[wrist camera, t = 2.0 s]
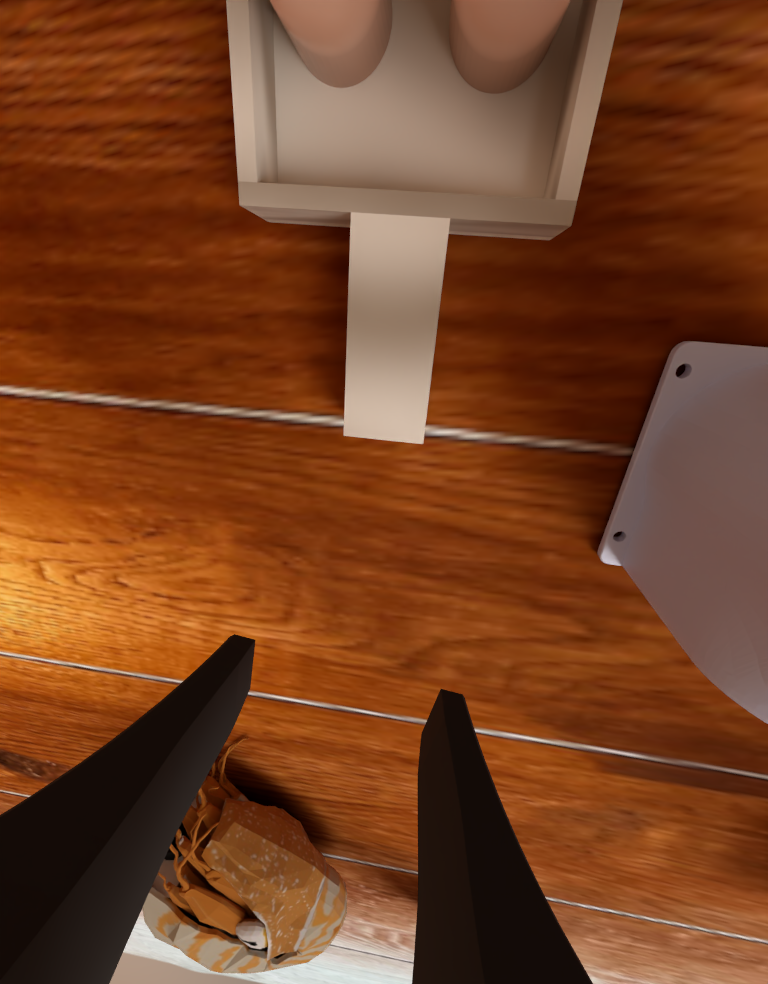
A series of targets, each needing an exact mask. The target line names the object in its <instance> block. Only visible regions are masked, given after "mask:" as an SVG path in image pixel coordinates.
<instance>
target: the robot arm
mask: <svg viewBox="0 0 768 984" xmlns="http://www.w3.org/2000/svg"><path fill="white" fill-rule="evenodd" d="M682 364H685V366H686V367H685V371H684V373H683V374H682V375H680V376H679V377H677V376H676V375H675V374H676V369H677V368H678V367H679V366H680V365H682ZM620 531H622V534H621V535H620V536H618V537H613V536H614V534H615V533H617V532H620ZM597 554H598V556H599V558H600V559H601V561H602V562H604V563H606V564H611V565H618V566H623V567H624V569H625V570H626V572H627V573H628V574H629V576H630V577H631V578H632V580H633V581H634V583H635V584H636V585H637V587H638V588H639V589H640V591H641V592H642V593H643V595H644V596H645V598H646V599H647V600H648V602H649V603H650V604H651V606H652V607H653V609H654V610H655V611H656V613H657V614H658V615H659V617H660V618H661V619H662V621H663V622H664V624H665V625H666V626H667V628H668V629H669V630H670V632H671V633H672V635H673V636H674V637H675V639H676V640H677V641H678V643H679V644H680V645H681V647H682V648H683V650H684V651H685V652H686V654H687V655H688V656H689V658H690V659H691V660H692V662H693V663H694V664H695V665H696V666H697V668H698V669H699V670H700V671H701V672H702V673H703V674H704V675H705V676H706V677H707V678H708V679H709V680H710V681H711V682H712V683H713V684H714V685H715V686H717V687H718V688H719V689H720V690H721V691H723V692H724V693H725V694H726V695H727V696H728V697H730V698H731V699H732V700H734V701H735V702H736V703H738V704H739V705H740V706H742V707H743V708H745V709H746V710H747V711H749V712H750V713H752V714H753V715H754V716H756V717H757V718H759V719H761V720H762V721H764V722H765V723H767V724H768V347H757V346H745V345H733V344H721V343H709V342H697V341H684V342H681V343H679V344H677V345H676V346H675V347H674V348H673V349H672V350H671V352H670V354H669V356H668V359H667V362H666V365H665V367H664V370H663V373H662V376H661V378H660V381H659V384H658V387H657V389H656V392H655V395H654V398H653V400H652V403H651V406H650V409H649V411H648V414H647V417H646V419H645V422H644V425H643V428H642V430H641V433H640V436H639V439H638V441H637V444H636V447H635V450H634V452H633V455H632V458H631V461H630V463H629V466H628V469H627V472H626V474H625V477H624V480H623V482H622V485H621V488H620V491H619V493H618V496H617V499H616V502H615V504H614V507H613V510H612V513H611V515H610V518H609V521H608V524H607V526H606V529H605V532H604V535H603V537H602V540H601V543H600V545H599V548H598V553H597ZM254 647H255V640H254V639H250V638H246V637H242V636H238V635H235V634H234V635H232V636H230V637H229V638H228V639H227V640H226V641H225V642H224V643H223V644H222V645H221V646H220V647H219V648H218V649H217V650H216V651H215V652H214V653H213V654H212V655H211V656H210V657H209V658H208V659H207V660H206V661H205V662H204V663H203V664H202V665H201V666H200V667H199V668H198V669H197V670H195V671H194V672H193V673H192V674H191V675H190V676H189V677H188V678H187V679H185V680H184V681H183V682H182V683H181V684H180V685H179V686H178V687H176V688H175V689H174V690H173V691H172V692H171V693H170V694H168V695H167V696H166V697H165V698H164V699H163V700H161V701H160V702H159V703H158V704H157V705H155V706H154V707H153V708H152V709H150V710H149V711H148V712H147V713H145V714H144V715H143V716H142V717H141V718H139V719H138V720H137V721H136V722H134V723H133V724H132V725H131V726H129V727H128V728H127V729H126V730H124V731H123V732H122V733H120V734H119V735H118V736H116V737H115V738H114V739H112V740H111V741H110V742H108V743H107V744H106V745H104V746H103V747H102V748H100V749H99V750H98V751H96V752H95V753H93V754H92V755H91V756H89V757H88V758H86V759H85V760H84V761H82V762H81V763H79V764H78V765H76V766H75V767H74V768H72V769H71V770H69V771H68V772H66V773H65V774H63V775H62V776H60V777H59V778H57V779H56V780H54V781H53V782H51V783H50V784H48V785H47V786H45V787H44V788H42V789H41V790H39V791H38V792H36V793H35V794H33V795H32V796H30V797H29V798H27V799H25V800H24V801H22V802H21V803H19V804H18V805H16V806H14V807H13V808H11V809H9V810H8V811H6V812H4V813H3V814H1V815H0V984H109V983H110V980H111V978H112V976H113V974H114V971H115V969H116V967H117V964H118V962H119V960H120V957H121V955H122V953H123V950H124V948H125V946H126V943H127V941H128V939H129V937H130V934H131V932H132V930H133V928H134V925H135V923H136V921H137V919H138V916H139V914H140V912H141V910H142V907H143V905H144V903H145V901H146V898H147V896H148V894H149V892H150V889H151V887H152V885H153V883H154V880H155V878H156V876H157V874H158V872H159V870H160V867H161V865H162V863H163V861H164V859H165V856H166V854H167V852H168V850H169V848H170V845H171V843H172V841H173V839H174V837H175V835H176V833H177V831H178V829H179V827H180V825H181V823H182V821H183V819H184V817H185V815H186V813H187V812H188V810H189V808H190V806H191V804H192V802H193V801H194V799H195V797H196V795H197V793H198V791H199V790H200V788H201V786H202V784H203V782H204V780H205V779H206V777H207V775H208V773H209V771H210V769H211V768H212V766H213V764H214V762H215V760H216V758H217V757H218V755H219V753H220V751H221V749H222V747H223V745H224V744H225V742H226V740H227V738H228V736H229V734H230V733H231V731H232V729H233V727H234V725H235V722H236V720H237V718H238V716H239V713H240V711H241V709H242V706H243V704H244V701H245V699H246V697H247V694H248V692H249V690H250V684H251V675H252V666H253V656H254ZM412 984H593V983H592V981H591V980H590V978H589V976H588V974H587V973H586V971H585V969H584V967H583V965H582V964H581V962H580V960H579V958H578V957H577V955H576V953H575V951H574V950H573V948H572V946H571V944H570V943H569V941H568V939H567V937H566V935H565V934H564V932H563V930H562V928H561V926H560V925H559V923H558V921H557V919H556V917H555V915H554V913H553V911H552V909H551V907H550V905H549V904H548V902H547V900H546V898H545V896H544V894H543V892H542V890H541V888H540V886H539V884H538V882H537V880H536V878H535V876H534V874H533V872H532V870H531V868H530V866H529V864H528V862H527V859H526V857H525V855H524V853H523V851H522V849H521V847H520V844H519V842H518V840H517V838H516V836H515V833H514V831H513V829H512V826H511V824H510V822H509V819H508V817H507V815H506V812H505V810H504V808H503V805H502V803H501V800H500V798H499V796H498V793H497V790H496V788H495V785H494V783H493V780H492V777H491V775H490V772H489V770H488V767H487V765H486V762H485V759H484V756H483V753H482V751H481V748H480V745H479V742H478V739H477V736H476V733H475V730H474V727H473V724H472V721H471V718H470V714H469V711H468V708H467V705H466V701H465V698H464V696H463V695H462V694H458V693H455V692H451V691H447V690H443V689H441V690H440V692H439V695H438V697H437V699H436V701H435V704H434V706H433V708H432V711H431V713H430V715H429V718H428V720H427V722H426V725H425V727H424V729H423V732H422V735H421V745H420V756H419V767H418V908H417V923H416V938H415V953H414V967H413V980H412Z"/></svg>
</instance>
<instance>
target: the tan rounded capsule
mask: <svg viewBox="0 0 768 984" xmlns="http://www.w3.org/2000/svg"><path fill="white" fill-rule="evenodd" d="M570 1H571V0H451V4H450V19H449V43H450V50H451V54H452V58H453V60H454V63H455V66H456V68H457V70H458V71H459V73H460V75H461V76H462V77H463V79H464V80H465V81H466V82H467V83H468V84H469V85H471V86H472V87H473V88H475V89H477V90H479V91H481V92H484V93H490V94H499V93H504V92H507V91H510V90H512V89H514V88H516V87H518V86H519V85H521V84H522V83H524V82H525V81H526V80H527V79H528V78H529V77H530V76H531V75H532V74H533V73H534V72H535V71H536V70H537V68H538V67H539V66H540V64H541V63H542V61H543V59H544V58H545V56H546V54H547V52H548V50H549V48H550V45H551V43H552V41H553V39H554V36H555V34H556V32H557V30H558V28H559V25H560V23H561V21H562V19H563V16H564V14H565V12H566V10H567V8H568V5H569V3H570Z"/></svg>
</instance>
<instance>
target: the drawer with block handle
mask: <svg viewBox="0 0 768 984" xmlns="http://www.w3.org/2000/svg"><path fill="white" fill-rule="evenodd" d="M622 3H623V0H571V1H570V3H569V5H568V8H567V10H566V12H565V14H564V16H563V19H562V21H561V23H560V25H559V28H558V30H557V32H556V34H555V36H554V39H553V41H552V43H551V45H550V48H549V50H548V52H547V54H546V56H545V58H544V59H543V61H542V63H541V64H540V66H539V67H538V68H537V70H536V71H535V72H534V73H533V74H532V75H531V76H530V77H529V78H528V79H527V80H526V81H525V82H524V83H522V84H521V85H519V86H518V87H516V88H514V89H512V90H510V91H507V92H504V93H499V94H490V93H484V92H481V91H479V90H477V89H475V88H473V87H472V86H471V85H469V84H468V83H467V82H466V81H465V80H464V79H463V77H462V76H461V75H460V73H459V71H458V70H457V68H456V66H455V63H454V60H453V58H452V54H451V50H450V43H449V19H450V4H451V0H392V29H391V34H390V39H389V42H388V46H387V49H386V51H385V54H384V56H383V58H382V60H381V61H380V63H379V65H378V66H377V68H376V69H375V70H374V71H373V72H372V74H371V75H370V76H368V77H367V78H366V79H365V80H364V81H362V82H360V83H359V84H357V85H354V86H351V87H347V88H336V87H332V86H328V85H326V84H324V83H322V82H321V81H319V80H318V79H317V78H316V77H315V76H313V75H312V74H311V72H310V71H309V70H308V69H307V67H306V66H305V64H304V63H303V61H302V59H301V57H300V55H299V54H298V52H297V50H296V48H295V46H294V44H293V42H292V41H291V39H290V37H289V35H288V33H287V31H286V29H285V28H284V26H283V24H282V22H281V20H280V18H279V17H278V15H277V13H276V11H275V9H274V7H273V5H272V4H271V2H270V0H226V6H227V21H228V36H229V51H230V67H231V82H232V97H233V113H234V128H235V143H236V159H237V174H238V189H239V205H240V206H242V207H243V208H245V209H247V210H249V211H250V212H252V213H254V214H256V215H257V216H259V217H261V218H263V219H264V220H266V221H268V222H273V223H289V224H304V225H319V226H335V227H350V254H349V285H348V316H347V347H346V378H345V409H344V436H351V437H360V438H370V439H379V440H388V441H398V442H407V443H417V444H423V441H424V433H425V424H426V416H427V408H428V399H429V391H430V383H431V374H432V366H433V358H434V350H435V341H436V333H437V325H438V316H439V308H440V300H441V291H442V283H443V275H444V266H445V258H446V250H447V242H448V234H458V235H474V236H489V237H504V238H520V239H535V240H551V239H552V238H554V237H555V236H557V235H558V234H560V233H561V232H563V231H564V230H566V229H567V228H569V227H570V226H571V225H572V221H573V217H574V212H575V208H576V203H577V199H578V195H579V190H580V186H581V182H582V177H583V173H584V169H585V164H586V160H587V155H588V151H589V147H590V142H591V138H592V134H593V129H594V125H595V121H596V116H597V112H598V107H599V103H600V99H601V94H602V90H603V86H604V81H605V77H606V72H607V68H608V64H609V59H610V55H611V51H612V46H613V42H614V38H615V33H616V29H617V24H618V20H619V16H620V11H621V7H622Z"/></svg>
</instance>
